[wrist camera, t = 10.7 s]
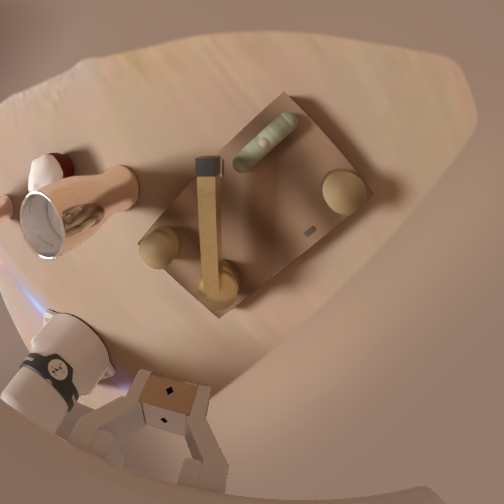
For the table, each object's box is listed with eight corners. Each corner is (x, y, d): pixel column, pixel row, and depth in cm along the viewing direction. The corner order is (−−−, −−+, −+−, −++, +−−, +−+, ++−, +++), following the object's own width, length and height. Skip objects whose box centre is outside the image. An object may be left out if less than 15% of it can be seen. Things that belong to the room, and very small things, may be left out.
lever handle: (240, 294, 34) (234, 320, 29) (204, 291, 34) (193, 317, 29) (240, 153, 27) (231, 157, 22) (197, 153, 28) (180, 158, 23)
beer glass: (152, 191, 33) (78, 233, 19) (120, 223, 35) (48, 275, 22) (120, 150, 31) (35, 172, 18) (91, 186, 33) (11, 221, 20)
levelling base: (223, 305, 39) (214, 333, 33) (147, 235, 35) (125, 253, 30) (366, 188, 30) (383, 201, 25) (283, 95, 27) (284, 86, 22)
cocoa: (45, 162, 33) (-15, 179, 22) (65, 135, 31) (0, 146, 20) (70, 211, 35) (11, 240, 24) (92, 187, 33) (28, 213, 22)
